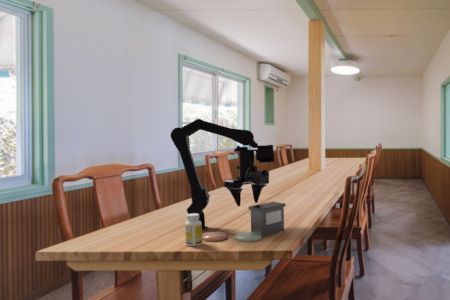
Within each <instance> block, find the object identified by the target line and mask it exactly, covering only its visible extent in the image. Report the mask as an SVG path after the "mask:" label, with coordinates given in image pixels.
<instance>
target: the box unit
mask: <svg viewBox="0 0 450 300" xmlns="http://www.w3.org/2000/svg"><path fill="white" fill-rule="evenodd" d="M286 206H287V205H286V203H284V202H277V201H270V202H265V203H259V204H256V205H251V206H248V210H249V211H250V232H253V233H258V234H261V238H265V237H268V236H271V235H273V234H274V235H275V234H277V233H282V232H284V231H285V215H284V214H285V213H284V212H285V210H284V208H285V207H286Z"/></svg>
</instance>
